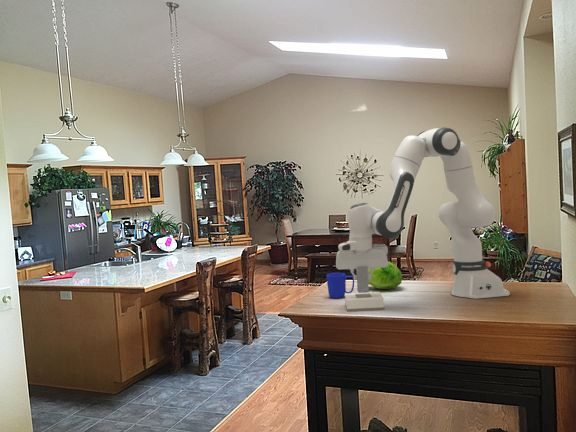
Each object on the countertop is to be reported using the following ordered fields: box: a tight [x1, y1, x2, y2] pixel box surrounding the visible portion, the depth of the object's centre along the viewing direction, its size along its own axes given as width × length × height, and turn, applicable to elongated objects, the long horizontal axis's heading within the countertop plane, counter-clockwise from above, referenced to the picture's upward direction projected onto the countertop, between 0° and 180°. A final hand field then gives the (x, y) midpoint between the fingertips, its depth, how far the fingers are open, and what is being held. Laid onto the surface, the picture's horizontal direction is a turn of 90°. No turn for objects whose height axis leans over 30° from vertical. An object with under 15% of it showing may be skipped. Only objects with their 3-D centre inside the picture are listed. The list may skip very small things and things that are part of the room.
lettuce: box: [368, 261, 403, 290], centre depth 232 cm, size 15×20×14 cm
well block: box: [344, 291, 385, 313], centre depth 200 cm, size 14×12×4 cm
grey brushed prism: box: [355, 267, 370, 293], centre depth 199 cm, size 4×5×10 cm
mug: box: [325, 272, 355, 299], centre depth 220 cm, size 8×12×10 cm
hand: (362, 279), depth 199 cm, fingers closed on grey brushed prism, 4 cm apart
